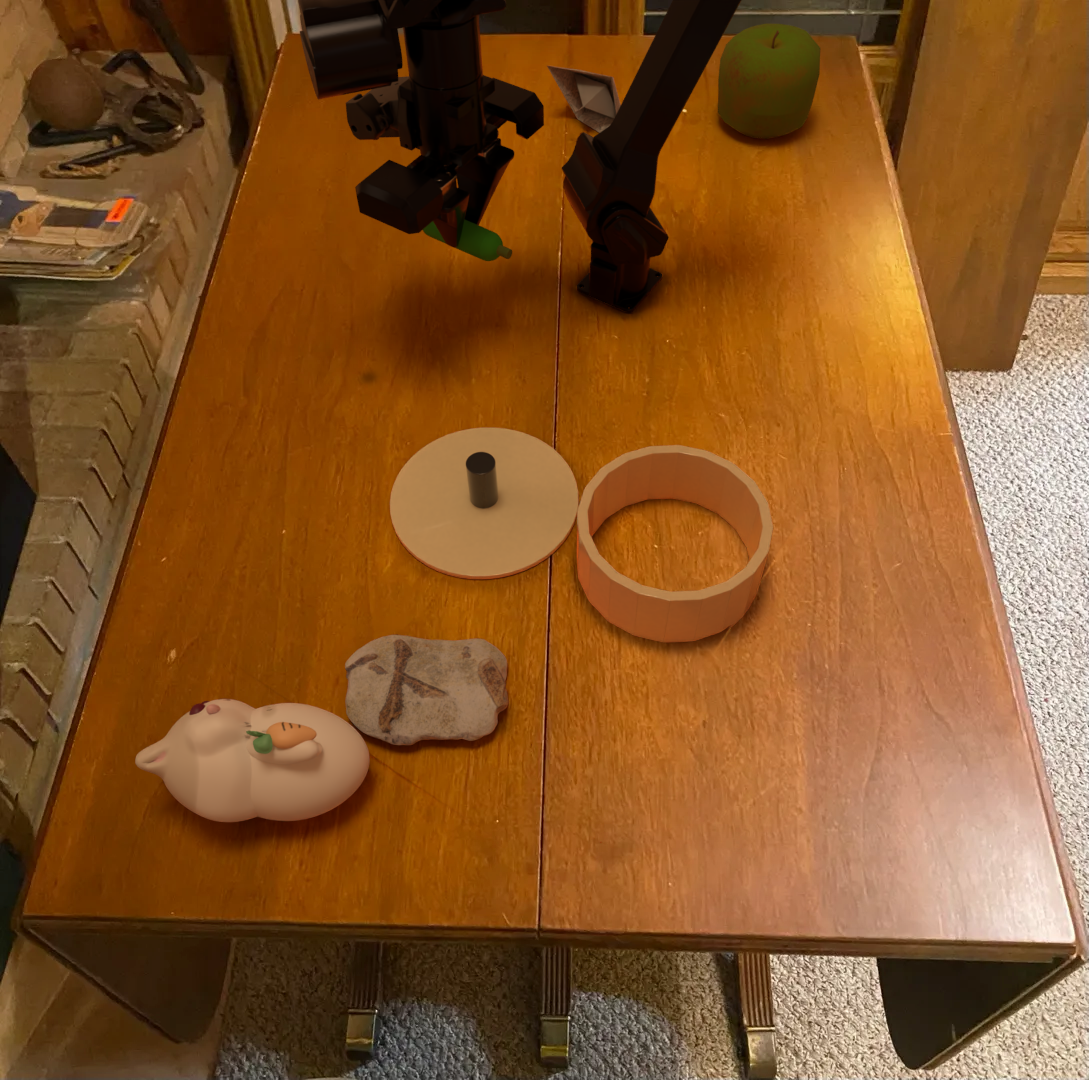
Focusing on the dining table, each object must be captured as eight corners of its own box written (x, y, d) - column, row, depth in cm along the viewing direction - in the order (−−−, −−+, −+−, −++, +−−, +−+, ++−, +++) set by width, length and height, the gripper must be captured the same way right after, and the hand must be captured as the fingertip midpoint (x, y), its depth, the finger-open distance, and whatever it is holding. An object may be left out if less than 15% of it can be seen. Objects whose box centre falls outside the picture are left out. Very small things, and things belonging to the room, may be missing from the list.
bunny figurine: (366, 707, 65) (122, 704, 63) (361, 836, 64) (115, 836, 63) (375, 696, 74) (163, 693, 73) (371, 808, 74) (157, 807, 72)
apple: (786, 89, 122) (803, -3, 113) (824, 140, 116) (845, 46, 107) (698, 105, 121) (709, 13, 112) (732, 157, 114) (746, 64, 106)
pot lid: (465, 410, 93) (460, 365, 88) (613, 484, 87) (616, 440, 83) (352, 527, 85) (340, 485, 81) (507, 616, 80) (504, 576, 75)
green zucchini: (416, 237, 93) (412, 213, 91) (433, 222, 94) (430, 198, 92) (501, 275, 90) (500, 251, 88) (518, 259, 91) (517, 235, 89)
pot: (636, 470, 88) (640, 418, 83) (790, 545, 83) (805, 495, 78) (542, 588, 81) (540, 541, 76) (703, 678, 76) (714, 634, 71)
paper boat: (658, 108, 118) (632, 130, 111) (623, 148, 122) (596, 172, 116) (583, 31, 116) (553, 48, 110) (550, 74, 121) (519, 94, 114)
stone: (343, 758, 73) (335, 738, 70) (351, 647, 78) (343, 625, 76) (510, 750, 73) (508, 730, 71) (507, 639, 78) (505, 617, 76)
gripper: (436, -9, 86) (453, 156, 99) (285, 95, 77) (325, 261, 90) (546, 28, 82) (548, 194, 95) (400, 141, 73) (424, 308, 86)
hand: (461, 236), depth 91 cm, fingers closed on green zucchini, 2 cm apart
